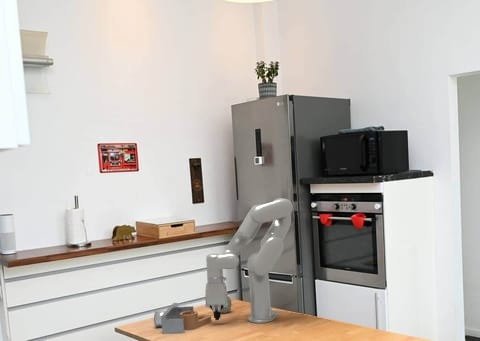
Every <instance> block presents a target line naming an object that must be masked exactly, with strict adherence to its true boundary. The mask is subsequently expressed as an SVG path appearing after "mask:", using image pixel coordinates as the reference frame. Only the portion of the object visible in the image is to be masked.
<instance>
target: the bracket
mask: <svg viewBox="0 0 480 341" xmlns="http://www.w3.org/2000/svg"><path fill="white" fill-rule="evenodd" d="M183 318H184V329H185V331H192V330H196V329H199V328H201V327H204V326H206V325H208V324H210V323H212V315H210V314H198V311H196V310H194V311H193V313H192V311H185V312H181V313H180V319H183Z"/></svg>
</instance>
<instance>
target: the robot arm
mask: <svg viewBox="0 0 480 341" xmlns="http://www.w3.org/2000/svg"><path fill="white" fill-rule="evenodd" d="M293 208H294V207H293V203H292V201H291V200H290V199H287V198H278V197H277V198H276V199H273V201H271V202H268V203H267V202H266V203H263V204H255V205H253V206H252V207H251V208H250V210H249V211H248V213H247V214H246V216H245V217H244V219H243V221H242V223H241V224H240V226H239V227H238V229H237V231H236V232H235V234H234V235H233V237H232V238H231V239H230V241H229V242H228V244H227V246H226V247H225V249H224V251H223V253H222V254H220V253H210V254H207V255H206V260H205V261H206V275H207V276H206V279H207V282H206V284H205V293H204V294H205V298H204V299H205V306H204V307H205V308H207V309H210V310H211V311H212V312H213V319H215V321H219V320H220V319H221V318H222V316H221V314H222V313H220V311H221V309H222V308H224V307H227V306H228V303H227V300H228V299H227V296H228V291H227V284H226V282H225V281H227V277H225V276H224V270H234V269H236V268H237V267H238V266H239V264H240V258H239V256H240V254H241V253H242V251H243V249H244V248H245V247H247V245H248V244H250V243H251V242H252V241H253V240H254V238H256V237H255V236H256V235H257V233H258V231H259V230H260V229H261V226H262V225H263V224H264V223H269V222H272V223H271V225H270V227H269V228H268V230H267V231H266V233H265V234H264V236H263V237H262V239H261V241H260V249H259V251H258V252H254V253H252V254H250V255H249V257H248V259H247V264H246V265H247V266H246V267H247V274H248V284H249V299H250V301H249V302H250V314H251V315H250V316H248V318H247V319H248V322H250V323H255V324H265V323H270V322H273V321H274V320H276V319H275V316H278V317H279V316H281V311H279V310H273V309H272V308H271V294H270V293H271V292H270V278H269V276H270V275H269V273H270V272H271V271H272V270H273V268H274V267H275V265H276V263H277V262H278V260H279V259H280V257H281V255H282V253H283V252H284V249H285V248H284V247H285V246H284V245H285V244H284V239H285V237H286V235H287V234H288V232H289V230H290V227H291V223H292V214H291V213H292V212H293ZM215 305H218V310H217V309H216V306H215Z"/></svg>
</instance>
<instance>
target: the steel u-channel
mask: <svg viewBox="0 0 480 341" xmlns="http://www.w3.org/2000/svg"><path fill="white" fill-rule="evenodd" d="M185 311H192V313H193V311H195V308H194V305H191V306H178V302H173V303H172V304H171V305H170V306H169V307H168V308H167V309H166V310H158V311H155V312H154V315H153V324H154V327H156V328H157V327H159V328H160V327H161V334H163V335H164V334H185V331H186V330H185V329H184V318H183V319H180V313H181V312H185Z"/></svg>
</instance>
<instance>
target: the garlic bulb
mask: <svg viewBox="0 0 480 341" xmlns="http://www.w3.org/2000/svg"><path fill="white" fill-rule="evenodd" d="M227 299H228V300H227V303H228V306H227V307H224V308H222V309H221V311H220V313H221V314H227V313H228V312H230V311H232V299H231V298H230V296H229V295H227ZM215 306H216V309H217V310H218V305H215Z"/></svg>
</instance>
